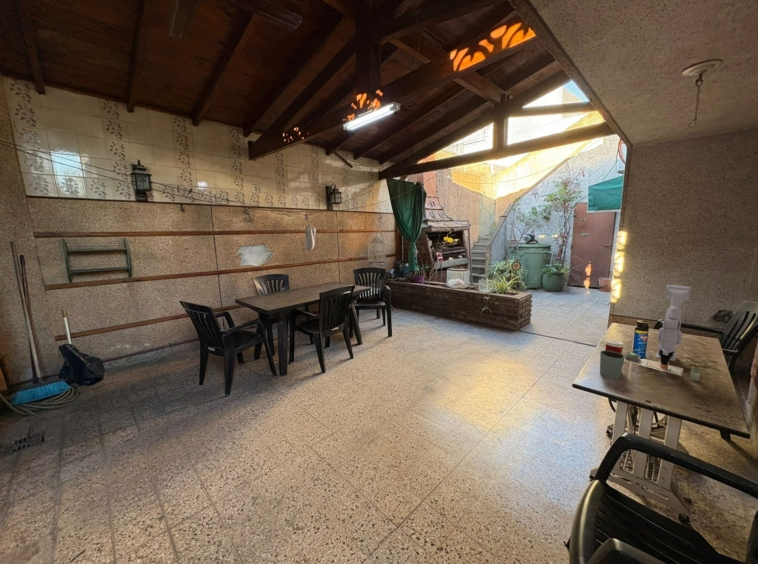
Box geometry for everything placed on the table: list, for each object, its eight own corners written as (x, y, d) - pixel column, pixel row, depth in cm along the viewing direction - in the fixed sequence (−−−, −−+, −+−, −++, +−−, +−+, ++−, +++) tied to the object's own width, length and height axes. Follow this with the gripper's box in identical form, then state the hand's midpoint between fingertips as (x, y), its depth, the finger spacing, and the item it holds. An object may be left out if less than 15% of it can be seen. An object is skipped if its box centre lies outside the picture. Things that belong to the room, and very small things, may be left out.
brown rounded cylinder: (668, 367, 160) (670, 357, 158) (667, 369, 157) (669, 359, 156) (660, 365, 162) (661, 355, 161) (659, 367, 160) (661, 357, 159)
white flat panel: (626, 355, 177) (627, 354, 176) (683, 369, 159) (683, 368, 159) (622, 361, 169) (622, 360, 169) (681, 376, 151) (681, 375, 151)
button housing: (627, 356, 174) (627, 352, 174) (640, 359, 170) (640, 355, 169) (625, 359, 170) (625, 355, 170) (638, 362, 166) (639, 358, 165)
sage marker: (689, 377, 150) (691, 366, 149) (699, 380, 148) (701, 369, 147) (689, 379, 148) (691, 369, 147) (698, 382, 146) (701, 371, 145)
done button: (629, 355, 172) (630, 352, 172) (637, 357, 170) (638, 354, 169) (628, 357, 170) (628, 353, 170) (636, 359, 167) (636, 355, 167)
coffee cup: (624, 371, 158) (628, 345, 155) (607, 369, 160) (610, 344, 157) (615, 364, 166) (618, 339, 163) (598, 362, 168) (602, 338, 165)
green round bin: (611, 381, 148) (615, 359, 146) (592, 371, 157) (595, 351, 155) (626, 378, 150) (629, 356, 148) (606, 369, 160) (609, 349, 158)
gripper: (660, 334, 164) (656, 357, 167) (656, 341, 155) (652, 365, 158) (677, 338, 159) (673, 361, 162) (675, 345, 150) (670, 369, 152)
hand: (664, 363), depth 159 cm, fingers closed on brown rounded cylinder, 3 cm apart
